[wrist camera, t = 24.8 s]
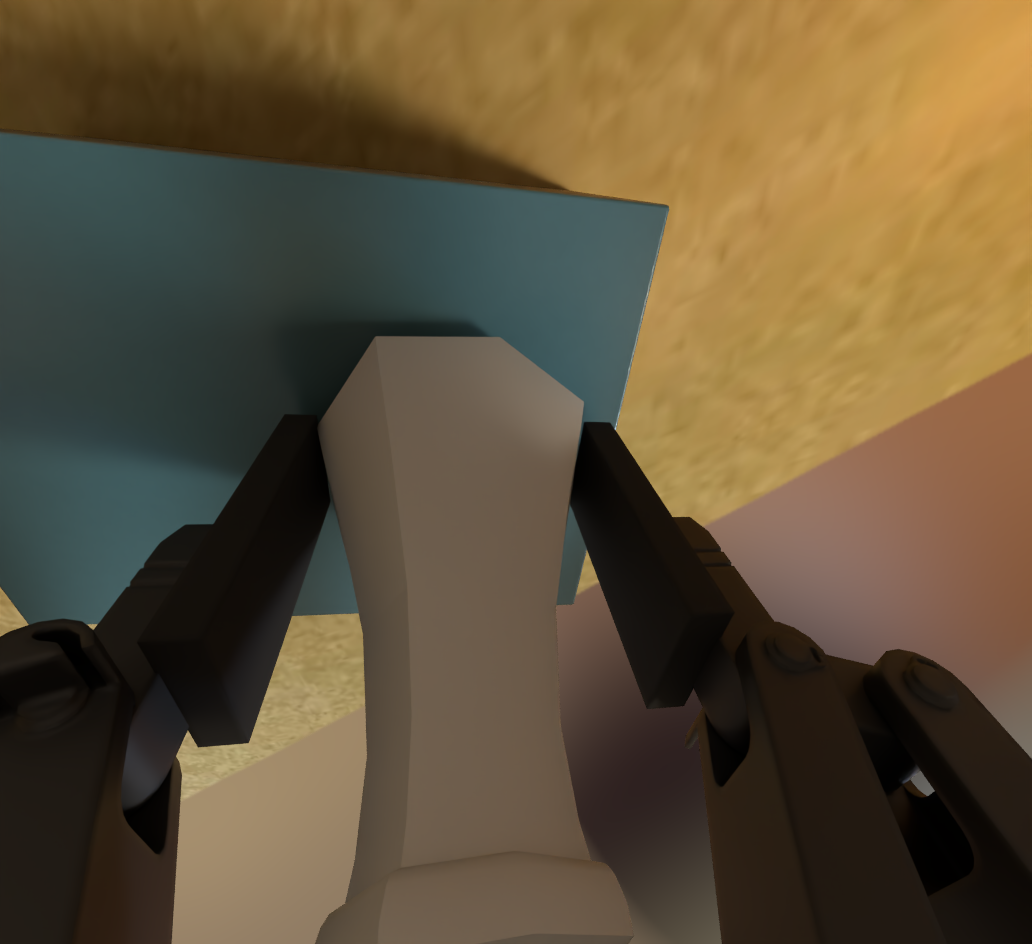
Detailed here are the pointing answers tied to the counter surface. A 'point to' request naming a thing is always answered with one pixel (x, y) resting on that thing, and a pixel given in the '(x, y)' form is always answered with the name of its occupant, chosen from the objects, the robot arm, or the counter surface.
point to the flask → (461, 649)
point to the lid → (256, 334)
